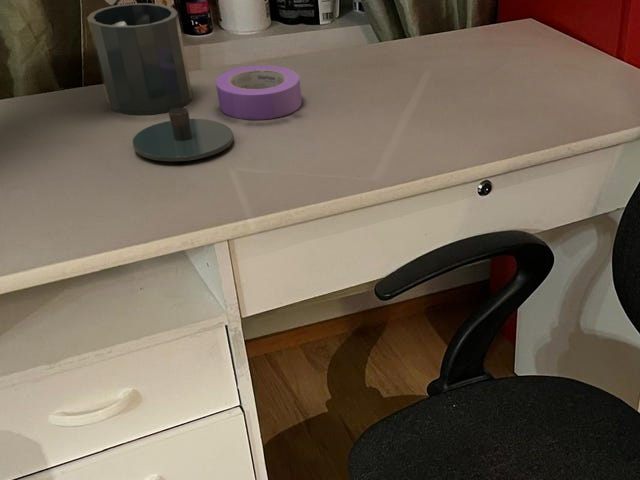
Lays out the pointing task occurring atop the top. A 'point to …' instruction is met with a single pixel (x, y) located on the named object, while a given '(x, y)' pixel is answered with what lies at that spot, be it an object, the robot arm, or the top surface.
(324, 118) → the top surface
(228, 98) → the tape roll
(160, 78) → the canister
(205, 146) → the canister lid
